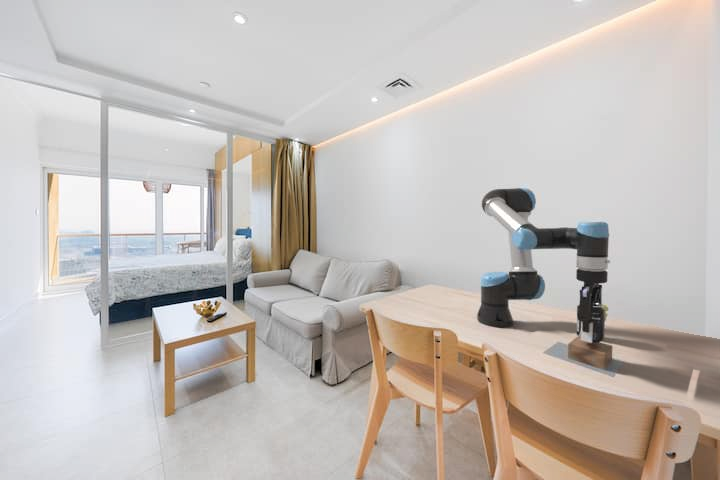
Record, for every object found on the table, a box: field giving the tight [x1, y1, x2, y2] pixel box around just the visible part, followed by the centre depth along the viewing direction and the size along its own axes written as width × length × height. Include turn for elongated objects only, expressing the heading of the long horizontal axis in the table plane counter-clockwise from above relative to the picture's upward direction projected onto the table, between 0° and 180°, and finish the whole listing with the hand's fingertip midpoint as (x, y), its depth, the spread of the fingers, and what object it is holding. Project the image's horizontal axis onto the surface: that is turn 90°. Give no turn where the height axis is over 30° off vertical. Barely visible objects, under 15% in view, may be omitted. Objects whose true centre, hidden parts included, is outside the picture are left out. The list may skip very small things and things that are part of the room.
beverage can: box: [576, 303, 606, 343], centre depth 84 cm, size 7×7×12 cm
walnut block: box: [567, 336, 613, 370], centre depth 85 cm, size 9×9×5 cm
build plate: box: [542, 341, 626, 378], centre depth 87 cm, size 18×14×1 cm
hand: (590, 338), depth 85 cm, fingers closed on beverage can, 7 cm apart
